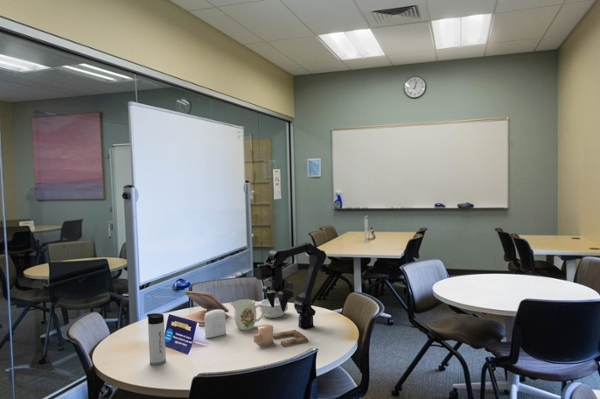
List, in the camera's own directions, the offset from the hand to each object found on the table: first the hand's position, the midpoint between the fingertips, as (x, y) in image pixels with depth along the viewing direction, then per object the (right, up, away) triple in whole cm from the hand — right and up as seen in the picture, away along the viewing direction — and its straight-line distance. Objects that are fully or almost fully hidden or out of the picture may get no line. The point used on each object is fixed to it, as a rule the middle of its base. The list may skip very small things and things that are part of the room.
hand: (278, 309), depth 205 cm
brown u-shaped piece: (+5, -12, -7) cm, 15 cm away
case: (-42, -13, +29) cm, 53 cm away
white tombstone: (-30, -13, +2) cm, 33 cm away
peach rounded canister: (-6, -12, -13) cm, 19 cm away
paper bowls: (-4, -11, +31) cm, 33 cm away
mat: (-5, -13, -12) cm, 18 cm away
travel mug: (-48, -15, -28) cm, 57 cm away
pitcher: (-16, -12, +12) cm, 23 cm away
